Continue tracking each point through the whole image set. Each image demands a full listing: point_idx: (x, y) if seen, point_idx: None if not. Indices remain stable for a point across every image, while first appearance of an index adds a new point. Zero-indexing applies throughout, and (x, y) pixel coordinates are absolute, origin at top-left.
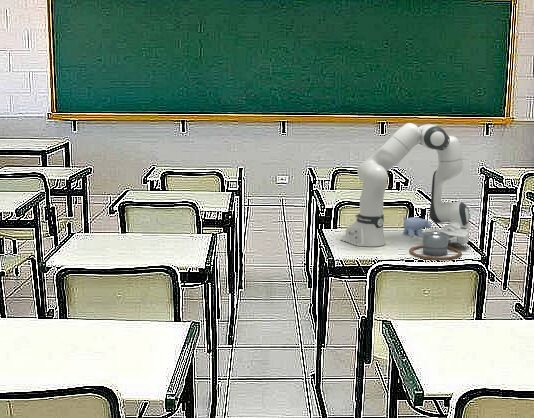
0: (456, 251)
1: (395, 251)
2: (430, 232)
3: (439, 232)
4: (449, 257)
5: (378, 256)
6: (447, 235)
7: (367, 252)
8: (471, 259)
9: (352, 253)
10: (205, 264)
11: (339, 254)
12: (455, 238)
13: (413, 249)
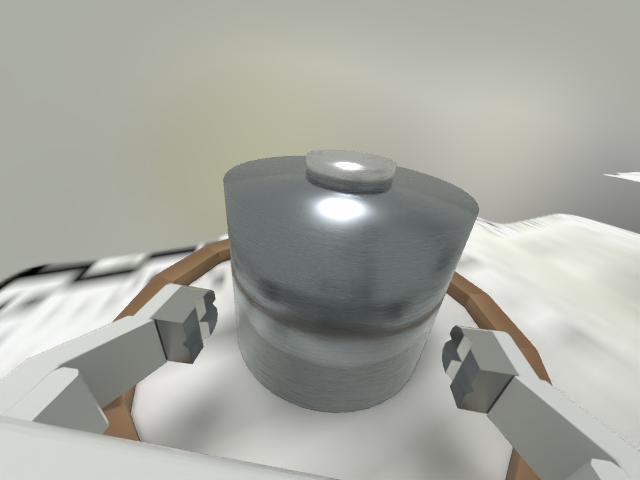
0: (129, 411)
1: (535, 290)
2: (434, 205)
3: (314, 155)
4: (228, 239)
5: (496, 230)
6: (231, 171)
7: (580, 252)
8: (83, 277)
9: (588, 235)
10: (607, 175)
11: (591, 224)
12: (73, 348)
13: (481, 314)
